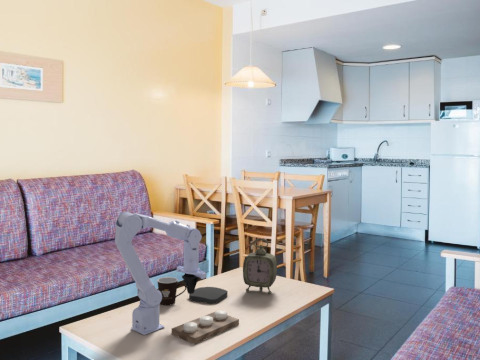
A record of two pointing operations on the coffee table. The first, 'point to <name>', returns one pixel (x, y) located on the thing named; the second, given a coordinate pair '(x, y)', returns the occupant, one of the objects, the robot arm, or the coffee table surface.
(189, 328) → the knob near
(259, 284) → the tabletop clock
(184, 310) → the coffee table surface
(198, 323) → the brown wooden board
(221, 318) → the knob far
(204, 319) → the knob middle
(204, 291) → the media streaming box
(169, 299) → the coffee mug
